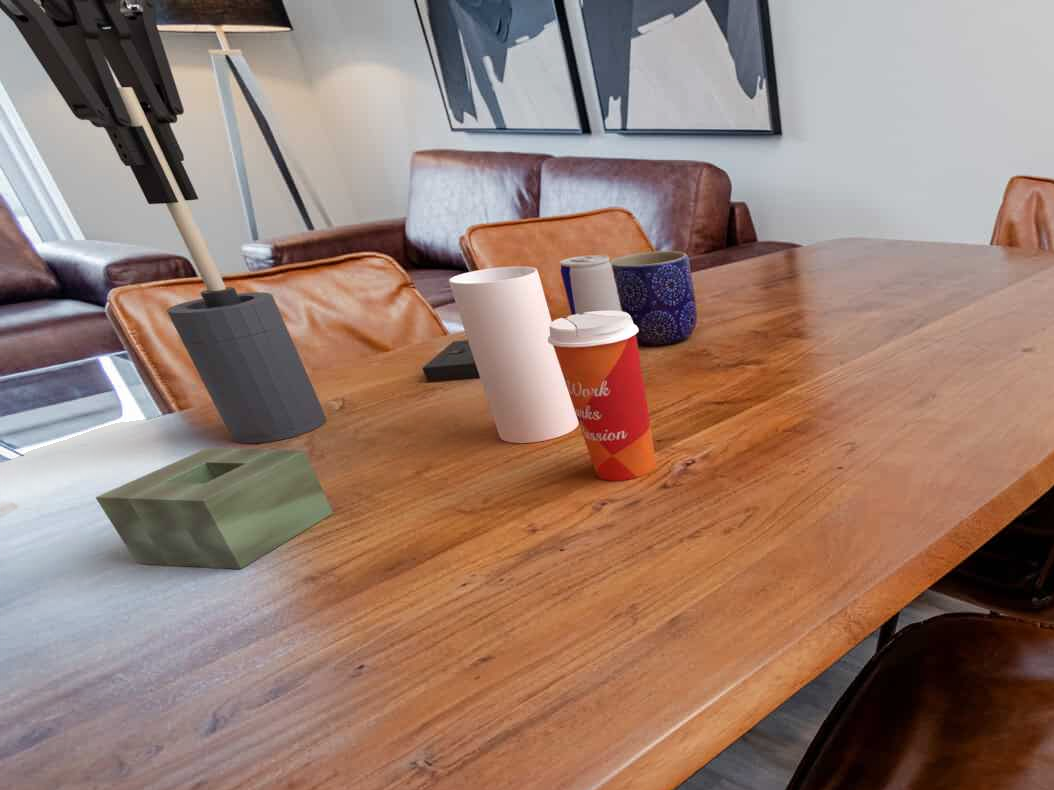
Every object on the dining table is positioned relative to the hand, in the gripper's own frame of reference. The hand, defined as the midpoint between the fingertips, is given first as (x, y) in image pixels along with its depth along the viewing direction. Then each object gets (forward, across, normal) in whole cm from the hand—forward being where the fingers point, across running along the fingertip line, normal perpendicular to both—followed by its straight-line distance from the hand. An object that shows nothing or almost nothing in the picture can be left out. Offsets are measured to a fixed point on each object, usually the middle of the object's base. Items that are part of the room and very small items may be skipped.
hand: (173, 201), depth 81 cm
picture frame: (+24, +26, -13) cm, 37 cm away
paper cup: (+24, -9, -47) cm, 53 cm away
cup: (+24, +1, -32) cm, 40 cm away
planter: (+24, +37, -31) cm, 54 cm away
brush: (+13, 0, 0) cm, 13 cm away
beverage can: (+24, +15, -34) cm, 44 cm away
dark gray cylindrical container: (+24, 0, 0) cm, 24 cm away
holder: (+24, -25, -19) cm, 39 cm away
